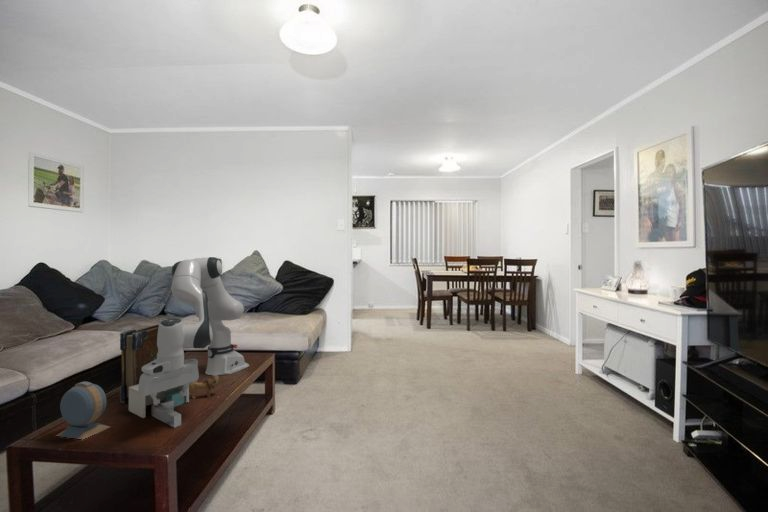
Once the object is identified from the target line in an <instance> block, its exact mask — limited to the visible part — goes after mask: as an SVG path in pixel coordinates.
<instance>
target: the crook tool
mask: <svg viewBox="0 0 768 512" xmlns="http://www.w3.org/2000/svg"><path fill="white" fill-rule="evenodd" d="M151 417H153V418H155V419H157V420H158V421H161V422H163V423H165V424H166V425H168V426H170V427H172V428H177V427H180V426H182V414H181V413H179V412H177V411H176V410H175V407H174V400H172V399H170V400H167V401H166V400H164V401H161V402H160V404H157V405H154V404H151Z"/></svg>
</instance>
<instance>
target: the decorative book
mask: <svg viewBox="0 0 768 512" xmlns="http://www.w3.org/2000/svg"><path fill="white" fill-rule="evenodd" d="M158 328H159V324H155V325H151V326H148V327H147V326H146V327H143V328H140V329H131V330H127V331H126V330H125V331H122V332H120V333H119V350H120V351H121V353H120V355H121V357H120V358H121V385H120V386H119V389H120V390H119V391H120V393H119V395H120V397H119V399H120V402H119V403H120V404H124V403H127V402H129V387H131V386H134V385H138V384H139V380H140V377H141V375H142V374H143V373H144V372H142V367H143V366H144V365H146V364H148V363H150V362H152V361H154V360H156V359H157V354H158V347H157V334H158Z"/></svg>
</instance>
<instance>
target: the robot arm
mask: <svg viewBox="0 0 768 512" xmlns="http://www.w3.org/2000/svg"><path fill="white" fill-rule="evenodd" d="M222 272H223V265H222V262H221V260H220V259H219V258H217V257H214V256H213V257H212V256H210V257H196V258H192V259H184V260H179V261H177V262H175V263H174V264H173V266H172V267H171V276H172V281H171V289H170V291H171V294H172V296H173V297H174V298H175V299H176V300H178V301H180V302H182V303H185V304H189V305H192V306H195V316H196V317H197V318H198V322H196V323H190V324H189V323H185V324H184V322H183V321H182V319H180V318H175V317H174V318H166V319H164V320H162V321H160V322H159V324H158V325H159V328H158V334H157V347H158V354H157V359H156V360H154V361H152V362H150V363H148V364H146V365H144V366H143V367H142V372H144V373H143V374H142V375H141V377H140V380H139V393H140V394H141V395H143V396H147V395H150V396H151V397H152V399H153V403H154V404H153V405H157V404H160V403H161V402H160V399H159V398H156V397H155V396H157V392H161V391H164V390H168V389H171V388H175V387H178V386H182V385H183V386H184V388H183V390H182V391H180V396H182V397H183V396H186V391H187V389H188V388H189V385H190V384H191V383H193V382H198V380H199V377H200V375H199V374H200V373H199V368H198V367H199V361H198V359H197V358H194V357H191V358H187V359H185V352H184V349H185V350H187V349H205V348H206V347H207V363H206V369H205V374H206V375H208V376H213V375H218V376H223V375H231V374H235V373H237V372H239V371H242V370H244V369H247V368H249V367H250V364H249V363H247V362H246V361H245V358H244V356H243V354H241V353H239V352H238V351H236V350H235V349H238V344H232V331H231V329H230V328H229V327H228V326H226V325H225V324H224V323H223V322H222V321H234V320H239V319H241V317H242V316H243V315H244V313H245V311H244V310H245V309H244V308H245V307H244V304H243V303H242V302H241V301H239V300H237V299H236V298H234V297H233V296H232V295H230V294H229V292H228V291H227V290H226V288H225V286H224V283H223V280H222V278H221V275H222ZM189 389H190V388H189Z"/></svg>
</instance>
